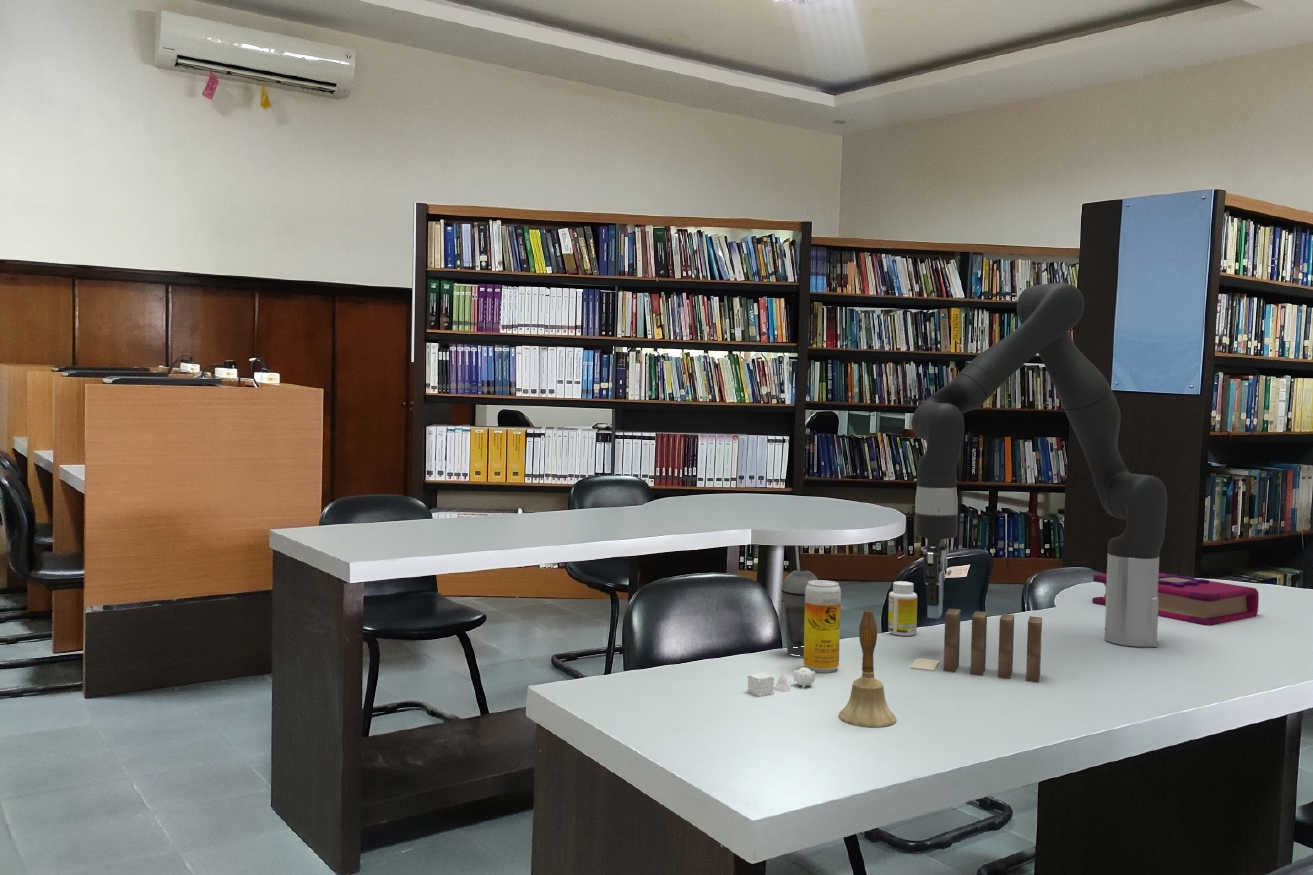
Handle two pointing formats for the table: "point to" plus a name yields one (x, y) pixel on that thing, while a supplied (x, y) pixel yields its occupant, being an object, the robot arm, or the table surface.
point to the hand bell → (867, 685)
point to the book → (1199, 599)
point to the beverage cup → (795, 607)
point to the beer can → (822, 625)
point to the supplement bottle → (902, 609)
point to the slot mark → (925, 664)
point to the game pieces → (764, 683)
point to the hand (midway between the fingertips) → (935, 602)
